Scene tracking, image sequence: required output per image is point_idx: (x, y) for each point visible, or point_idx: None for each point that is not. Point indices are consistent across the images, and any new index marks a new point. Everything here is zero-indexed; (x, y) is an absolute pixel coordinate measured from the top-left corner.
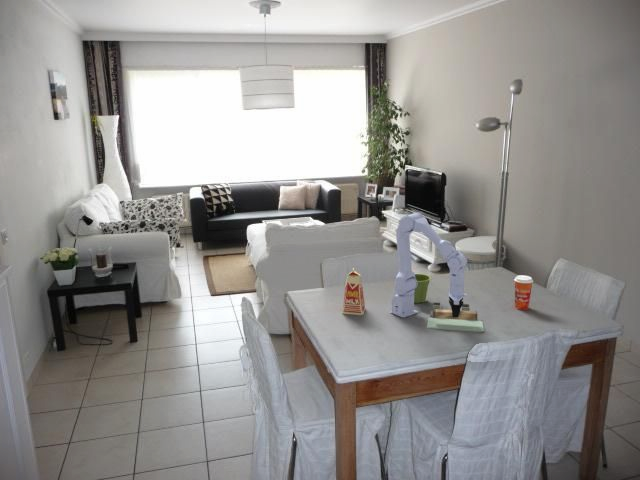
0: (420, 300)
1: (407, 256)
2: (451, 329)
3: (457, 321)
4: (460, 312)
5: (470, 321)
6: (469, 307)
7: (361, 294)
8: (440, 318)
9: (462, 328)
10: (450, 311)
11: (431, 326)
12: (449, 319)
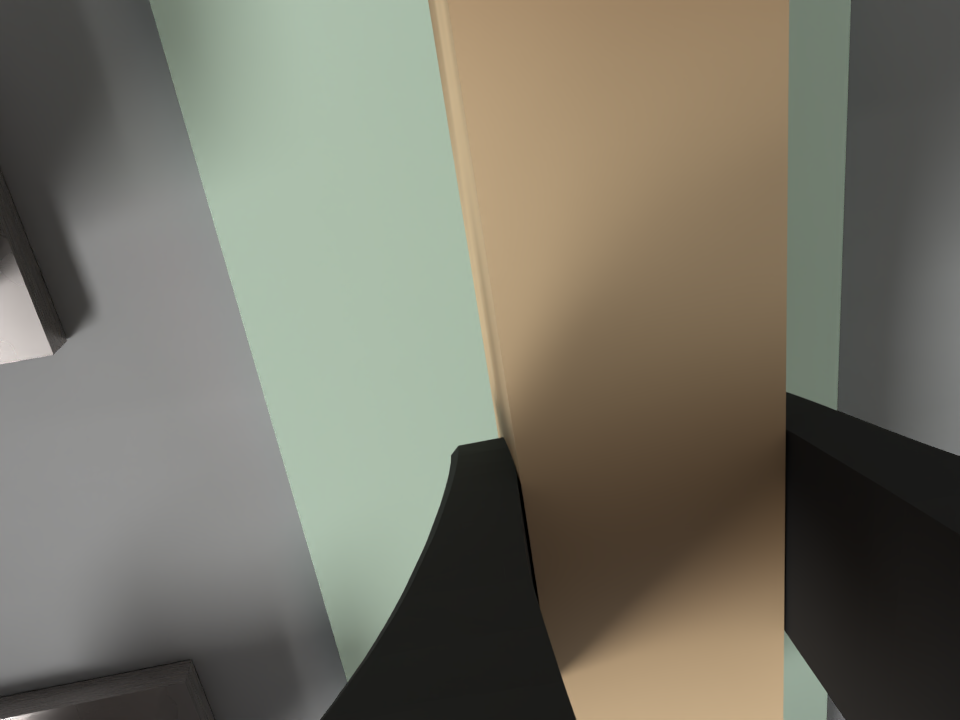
0: None
1: None
2: (825, 380)
3: (382, 344)
4: (718, 398)
5: (241, 13)
6: None
7: None
8: (347, 679)
9: (796, 162)
10: (692, 693)
11: (797, 712)
12: (326, 522)
